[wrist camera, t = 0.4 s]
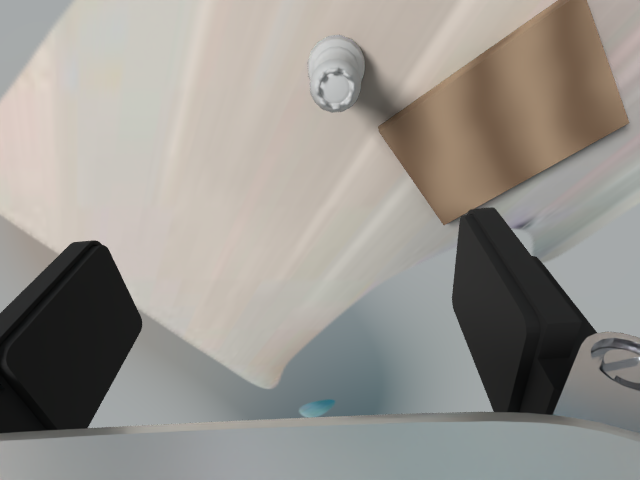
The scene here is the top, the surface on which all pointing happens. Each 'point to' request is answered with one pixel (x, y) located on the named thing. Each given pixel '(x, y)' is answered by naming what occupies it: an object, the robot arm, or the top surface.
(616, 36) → the top surface
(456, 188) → the walnut board
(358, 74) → the rook chess piece
